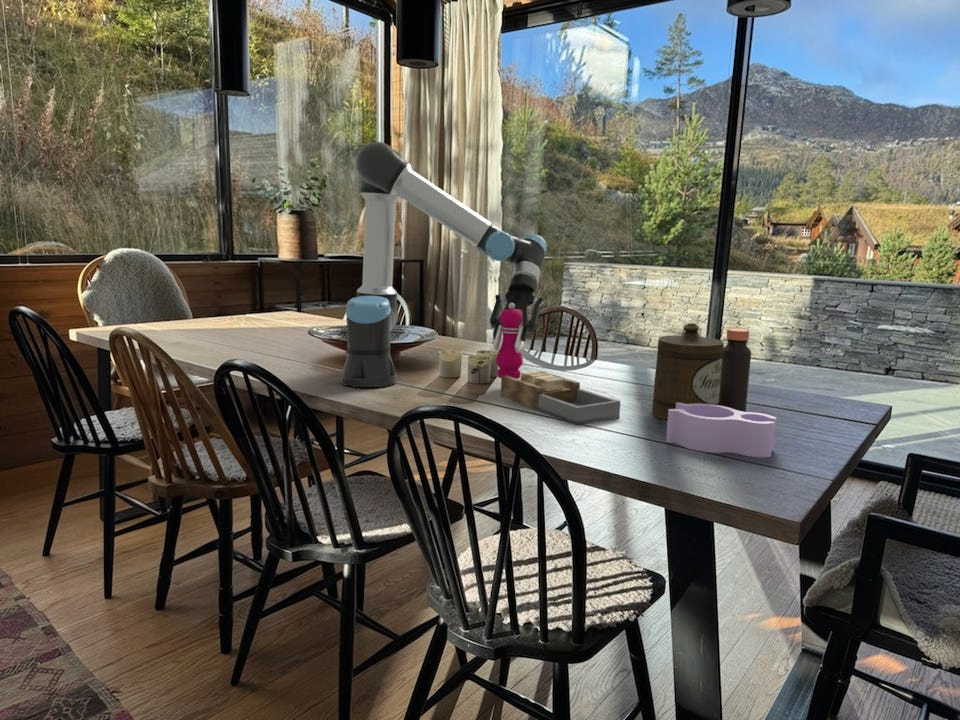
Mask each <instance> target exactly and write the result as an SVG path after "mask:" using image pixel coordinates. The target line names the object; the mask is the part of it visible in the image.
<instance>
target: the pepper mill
mask: <svg viewBox="0 0 960 720" xmlns="http://www.w3.org/2000/svg"><path fill="white" fill-rule="evenodd" d="M508 307H509V309H506V310H504V309H503V310H504V311H503V310H502V311H501V312H500V314H499V317H500V322H501V324H502V325H503V327H501V328H502V330H501V332H503V342H502V345H501V348H500V350H499V352H498V354H497V357H496V356H495V364H496V365H497V367H498V368H499V369H497V370H496V371H497V372H496V377H497V378H499V379H501V376H504V375H507V376H510V377H513V378H516V379H521V373H522V372H521V368H520V367H522V366H523V363H524V359H523V354H522V352H521V350H520V351H519V353H516V350H515V343H516V339H517V335H518V332H519V328H520V327H521V326H520V325H521V324H523V317H522V313H521V312H522V311H521V310H519V309H514V308H515V304H514V303H510V304H509V305H508Z"/></svg>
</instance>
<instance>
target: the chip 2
mask: <svg viewBox="0 0 960 720" xmlns="http://www.w3.org/2000/svg"><path fill="white" fill-rule="evenodd" d="M563 381H564V379H562V378H559V377H555V376H552V375H549V376H540V377H535V385H537V386H540V387H543V390H545V391H551V390H559V389H563Z"/></svg>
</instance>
